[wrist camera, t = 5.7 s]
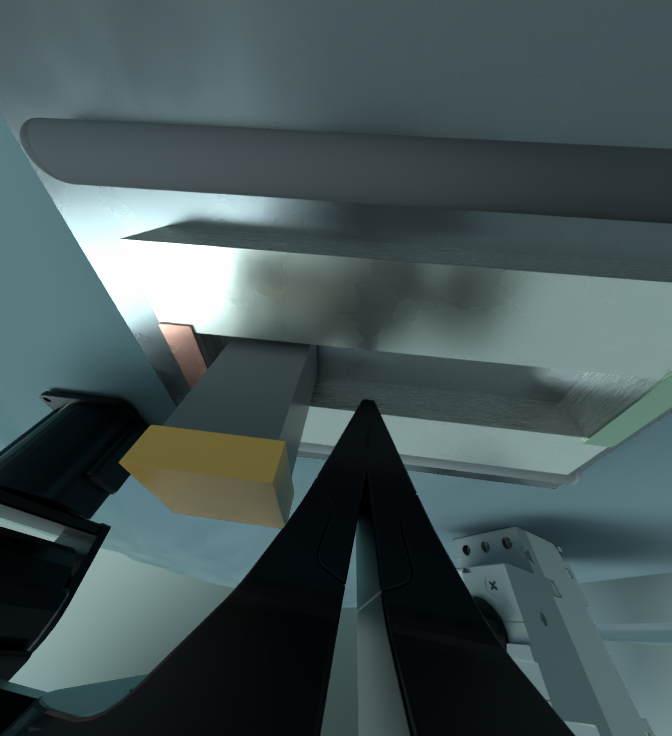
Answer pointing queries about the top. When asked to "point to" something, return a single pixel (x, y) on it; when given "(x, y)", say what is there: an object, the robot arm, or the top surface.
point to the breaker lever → (233, 436)
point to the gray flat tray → (364, 181)
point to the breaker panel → (380, 210)
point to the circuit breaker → (548, 629)
